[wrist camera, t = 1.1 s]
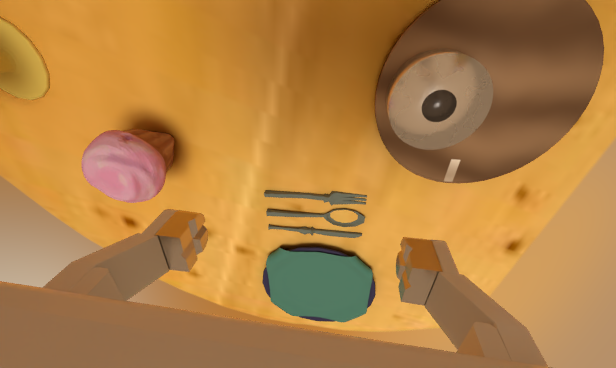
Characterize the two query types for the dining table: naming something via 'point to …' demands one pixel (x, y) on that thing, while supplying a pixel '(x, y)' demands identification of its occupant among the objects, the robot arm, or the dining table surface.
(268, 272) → the cutlery set
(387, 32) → the dining table surface
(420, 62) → the cover
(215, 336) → the robot arm
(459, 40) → the platter
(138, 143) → the cupcake
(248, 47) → the dining table surface
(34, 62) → the candle
